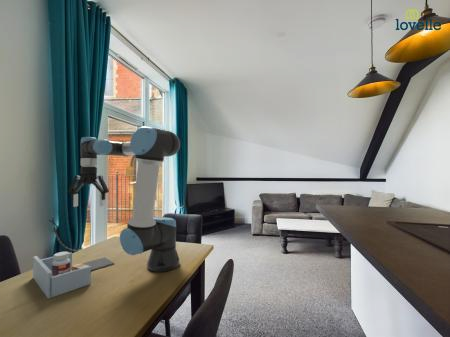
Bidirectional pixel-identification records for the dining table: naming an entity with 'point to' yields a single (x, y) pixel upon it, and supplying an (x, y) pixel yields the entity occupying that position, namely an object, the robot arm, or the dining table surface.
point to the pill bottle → (60, 263)
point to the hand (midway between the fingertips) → (88, 206)
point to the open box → (59, 277)
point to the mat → (99, 263)
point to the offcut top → (78, 266)
